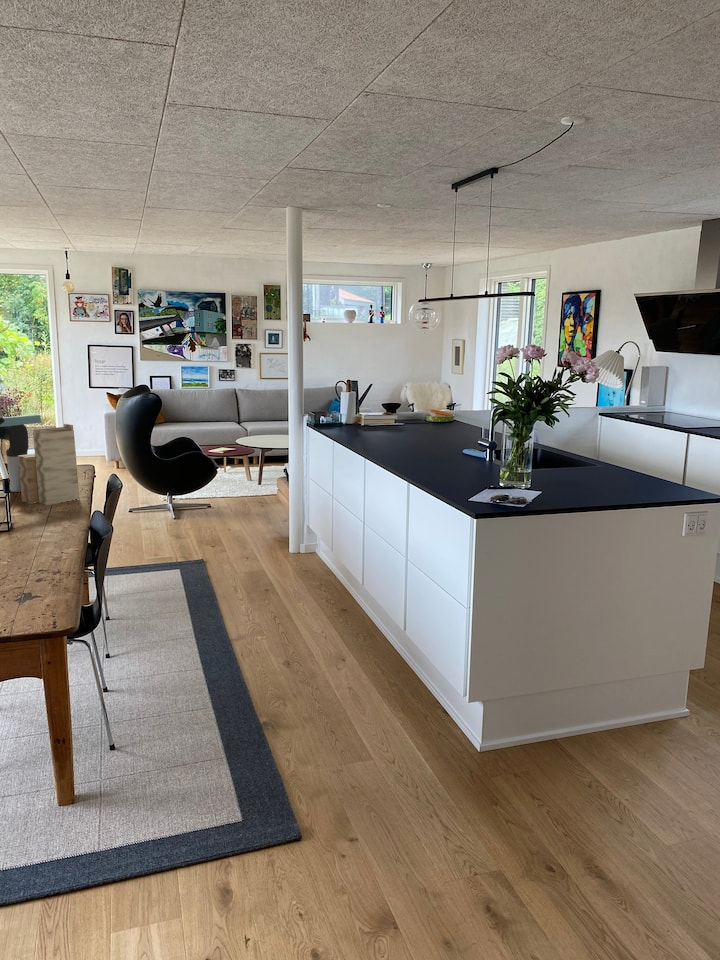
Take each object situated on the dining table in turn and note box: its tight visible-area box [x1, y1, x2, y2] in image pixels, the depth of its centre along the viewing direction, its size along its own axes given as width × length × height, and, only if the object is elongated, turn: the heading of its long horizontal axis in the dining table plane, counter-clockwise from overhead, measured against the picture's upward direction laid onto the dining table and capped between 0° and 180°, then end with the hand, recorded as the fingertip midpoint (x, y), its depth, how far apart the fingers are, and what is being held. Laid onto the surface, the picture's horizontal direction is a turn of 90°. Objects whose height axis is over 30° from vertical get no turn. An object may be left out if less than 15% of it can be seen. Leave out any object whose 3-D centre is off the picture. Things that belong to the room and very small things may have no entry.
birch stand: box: [32, 423, 80, 506], centre depth 332 cm, size 8×15×34 cm, turn 138°
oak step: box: [18, 453, 39, 505], centre depth 336 cm, size 8×14×21 cm, turn 138°
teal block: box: [0, 414, 42, 427], centre depth 322 cm, size 4×22×4 cm, turn 140°
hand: (1, 418), depth 317 cm, fingers closed on teal block, 3 cm apart
